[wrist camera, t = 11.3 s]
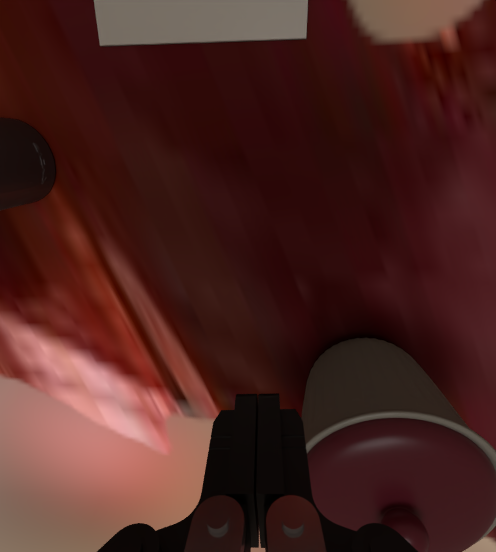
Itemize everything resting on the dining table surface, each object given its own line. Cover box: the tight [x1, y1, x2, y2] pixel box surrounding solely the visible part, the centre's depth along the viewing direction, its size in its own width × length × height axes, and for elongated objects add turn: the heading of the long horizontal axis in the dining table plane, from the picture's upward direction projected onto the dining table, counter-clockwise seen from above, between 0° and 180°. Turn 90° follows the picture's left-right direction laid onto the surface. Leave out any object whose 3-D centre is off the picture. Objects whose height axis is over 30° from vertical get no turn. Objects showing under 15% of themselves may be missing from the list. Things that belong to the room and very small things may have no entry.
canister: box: [301, 337, 496, 552], centre depth 36 cm, size 18×18×21 cm
